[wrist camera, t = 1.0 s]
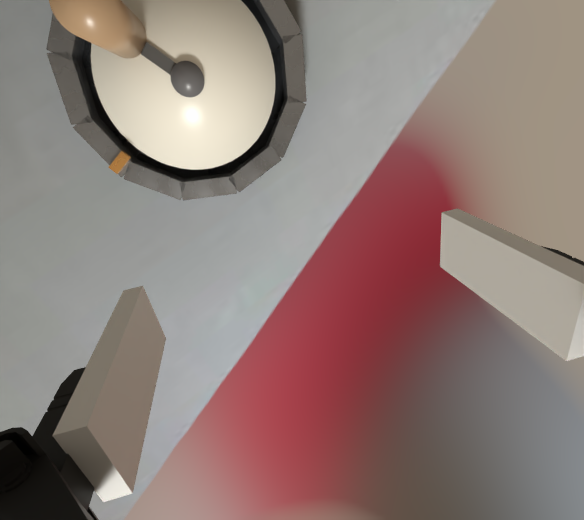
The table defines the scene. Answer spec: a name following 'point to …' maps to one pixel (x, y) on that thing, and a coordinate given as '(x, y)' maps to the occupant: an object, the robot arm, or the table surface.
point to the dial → (178, 74)
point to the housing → (161, 177)
